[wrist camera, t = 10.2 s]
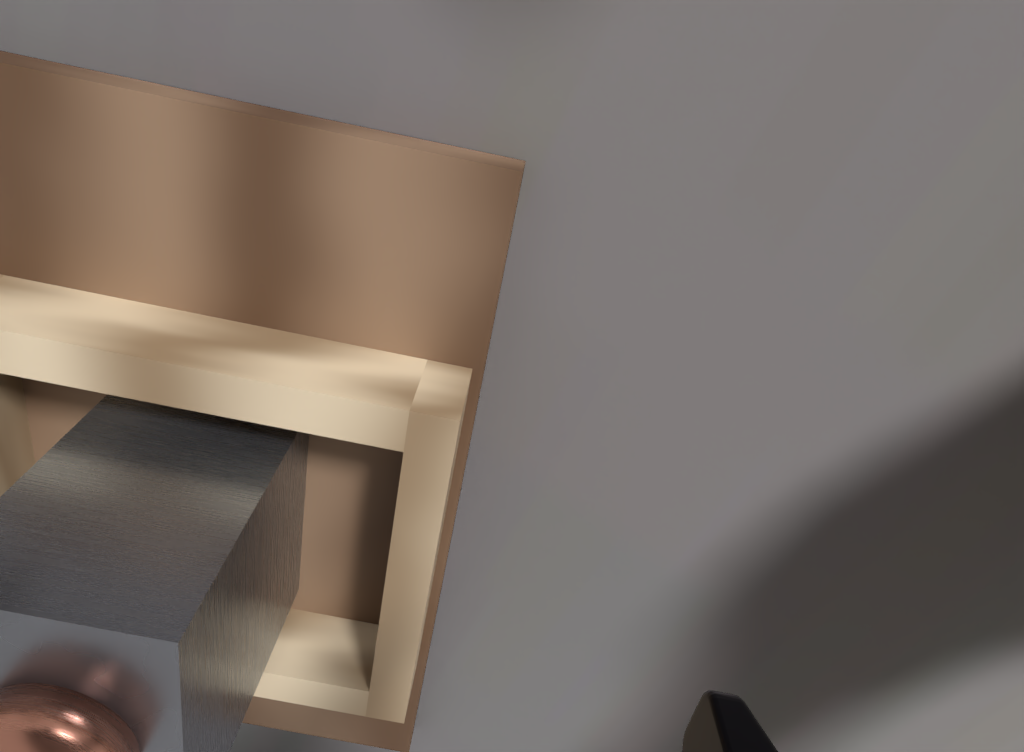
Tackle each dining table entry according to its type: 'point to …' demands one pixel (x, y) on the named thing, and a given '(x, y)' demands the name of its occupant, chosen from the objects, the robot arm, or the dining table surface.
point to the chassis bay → (265, 336)
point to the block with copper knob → (146, 579)
